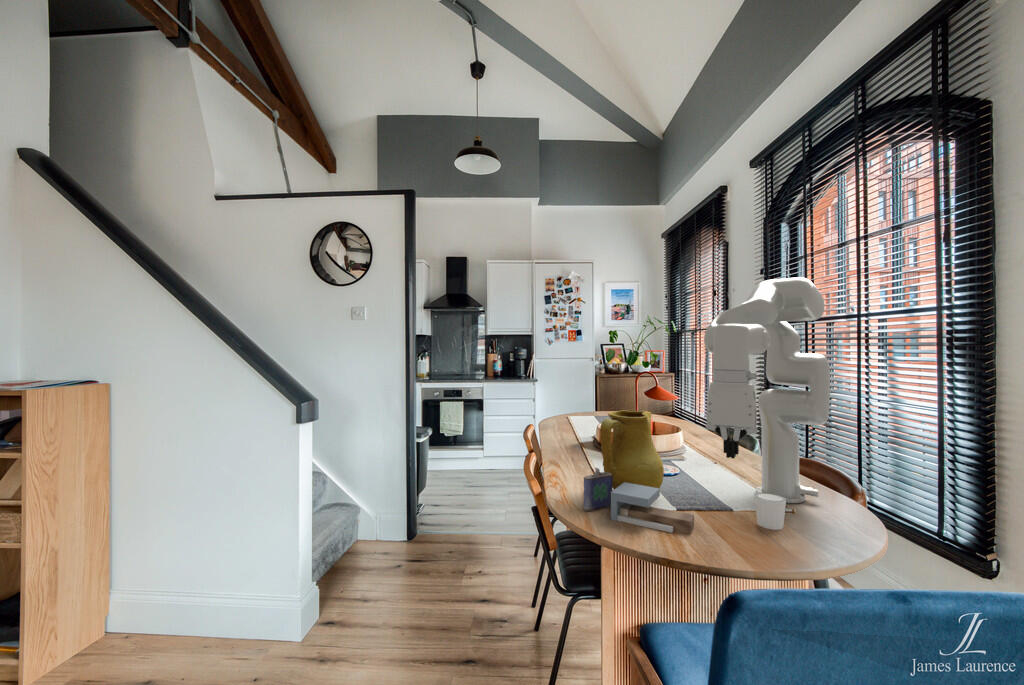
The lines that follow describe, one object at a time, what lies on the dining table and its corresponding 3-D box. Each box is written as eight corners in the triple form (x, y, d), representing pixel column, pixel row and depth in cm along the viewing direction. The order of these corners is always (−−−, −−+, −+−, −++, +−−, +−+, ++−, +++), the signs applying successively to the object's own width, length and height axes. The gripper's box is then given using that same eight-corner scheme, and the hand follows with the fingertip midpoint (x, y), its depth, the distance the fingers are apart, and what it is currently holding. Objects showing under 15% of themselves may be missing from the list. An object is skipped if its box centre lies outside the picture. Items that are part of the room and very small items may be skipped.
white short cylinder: (789, 532, 106) (789, 503, 106) (756, 528, 109) (756, 499, 109) (782, 521, 113) (782, 494, 113) (752, 518, 115) (752, 491, 115)
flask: (587, 512, 119) (587, 471, 119) (580, 508, 121) (580, 469, 121) (614, 507, 123) (614, 467, 123) (607, 503, 125) (607, 465, 125)
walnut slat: (694, 526, 110) (694, 514, 110) (690, 534, 105) (690, 521, 105) (625, 513, 118) (625, 502, 118) (619, 519, 114) (619, 508, 114)
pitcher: (674, 505, 123) (669, 413, 124) (606, 507, 124) (601, 416, 125) (655, 487, 140) (651, 407, 141) (596, 489, 141) (592, 409, 142)
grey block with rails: (681, 519, 114) (681, 492, 114) (671, 533, 105) (671, 503, 105) (624, 507, 122) (624, 482, 122) (610, 519, 114) (610, 492, 114)
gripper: (769, 377, 102) (769, 458, 102) (699, 375, 110) (699, 449, 110) (766, 380, 96) (767, 465, 96) (693, 377, 104) (693, 455, 104)
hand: (731, 456), depth 103 cm, fingers closed
